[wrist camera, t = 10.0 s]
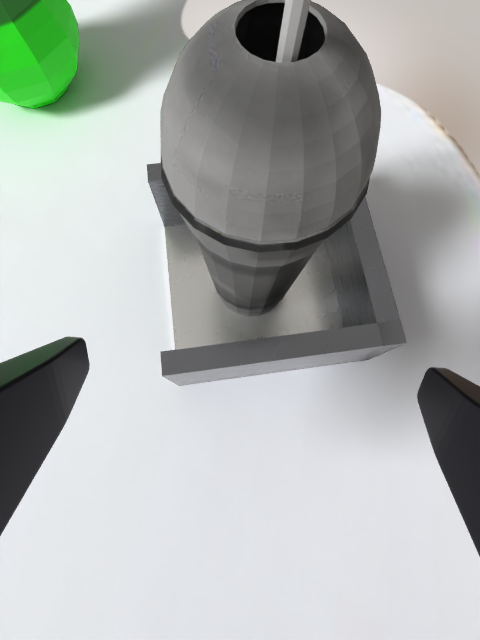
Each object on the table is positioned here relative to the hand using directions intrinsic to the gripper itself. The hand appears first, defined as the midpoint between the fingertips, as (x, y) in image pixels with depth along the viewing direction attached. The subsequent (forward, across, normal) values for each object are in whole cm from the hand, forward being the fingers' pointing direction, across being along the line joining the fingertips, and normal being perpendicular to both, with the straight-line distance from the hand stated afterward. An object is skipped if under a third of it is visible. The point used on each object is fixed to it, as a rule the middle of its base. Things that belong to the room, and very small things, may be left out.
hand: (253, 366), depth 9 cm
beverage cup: (+14, 0, +4) cm, 14 cm away
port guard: (+14, 0, +3) cm, 15 cm away
